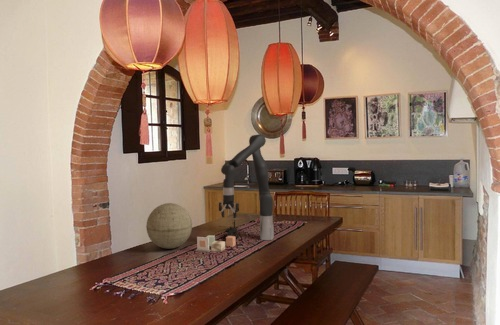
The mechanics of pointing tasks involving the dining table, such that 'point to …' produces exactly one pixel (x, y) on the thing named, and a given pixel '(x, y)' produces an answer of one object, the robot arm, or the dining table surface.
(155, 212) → the celestial globe
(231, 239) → the terracotta block
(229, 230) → the helicopter
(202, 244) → the board
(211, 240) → the sage block
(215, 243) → the beech base block
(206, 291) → the dining table surface
